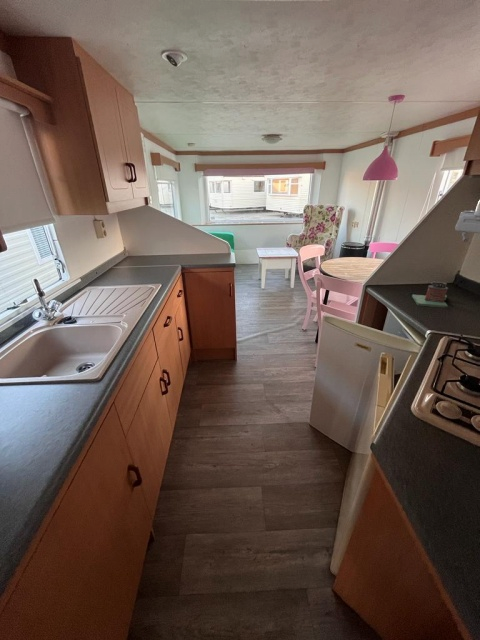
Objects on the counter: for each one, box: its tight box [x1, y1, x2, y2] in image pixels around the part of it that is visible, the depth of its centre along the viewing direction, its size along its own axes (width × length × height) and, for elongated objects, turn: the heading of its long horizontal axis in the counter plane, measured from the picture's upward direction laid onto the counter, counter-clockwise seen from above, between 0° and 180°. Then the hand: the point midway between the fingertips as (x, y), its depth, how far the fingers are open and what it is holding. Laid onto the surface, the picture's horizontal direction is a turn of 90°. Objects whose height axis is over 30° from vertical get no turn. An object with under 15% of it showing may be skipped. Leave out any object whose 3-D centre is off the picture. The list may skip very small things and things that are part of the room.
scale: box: [411, 294, 450, 309], centre depth 135 cm, size 14×12×3 cm
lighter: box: [424, 281, 449, 303], centre depth 132 cm, size 8×3×10 cm, turn 64°
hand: (476, 243), depth 123 cm, fingers open, 8 cm apart
